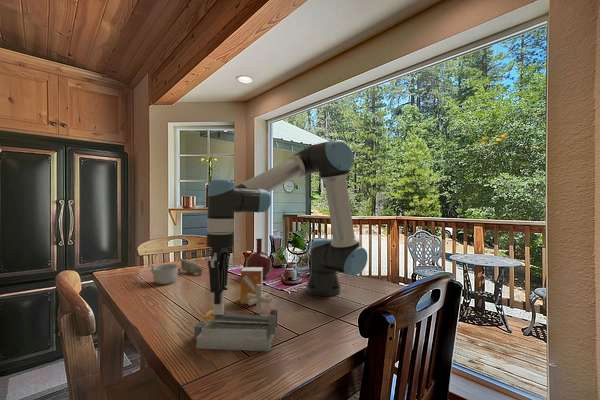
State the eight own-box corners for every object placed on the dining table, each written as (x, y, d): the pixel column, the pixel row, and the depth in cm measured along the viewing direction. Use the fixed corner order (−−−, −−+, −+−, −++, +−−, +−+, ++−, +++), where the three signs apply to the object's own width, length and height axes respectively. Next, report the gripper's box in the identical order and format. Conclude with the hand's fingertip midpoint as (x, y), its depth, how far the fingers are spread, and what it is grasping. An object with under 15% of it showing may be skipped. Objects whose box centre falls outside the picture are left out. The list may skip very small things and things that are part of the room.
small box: (240, 304, 112) (240, 270, 112) (242, 298, 118) (243, 266, 118) (261, 304, 112) (261, 270, 112) (262, 298, 119) (262, 266, 119)
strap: (276, 318, 86) (276, 314, 86) (273, 326, 81) (274, 321, 81) (209, 313, 87) (210, 308, 87) (203, 320, 82) (203, 315, 82)
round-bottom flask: (246, 274, 156) (247, 237, 156) (271, 273, 158) (271, 237, 158) (244, 281, 143) (245, 240, 143) (271, 280, 145) (272, 240, 145)
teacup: (182, 282, 141) (182, 265, 141) (161, 287, 132) (161, 270, 132) (165, 277, 148) (165, 262, 148) (144, 282, 139) (144, 266, 139)
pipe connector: (260, 320, 97) (260, 290, 97) (238, 314, 103) (238, 285, 103) (278, 311, 106) (278, 283, 106) (257, 305, 111) (257, 279, 111)
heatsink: (278, 331, 90) (278, 305, 90) (273, 351, 78) (273, 321, 78) (204, 328, 91) (205, 303, 91) (188, 348, 79) (188, 318, 79)
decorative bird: (197, 276, 151) (197, 262, 151) (176, 273, 158) (176, 259, 158) (205, 274, 156) (205, 260, 156) (184, 271, 163) (184, 257, 163)
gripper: (215, 230, 91) (213, 305, 91) (198, 235, 78) (196, 322, 78) (239, 230, 91) (237, 306, 91) (226, 235, 78) (224, 323, 78)
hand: (218, 313), depth 84 cm, fingers closed
